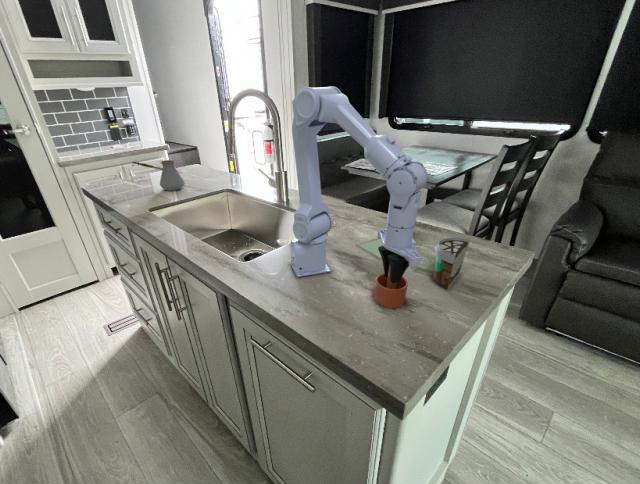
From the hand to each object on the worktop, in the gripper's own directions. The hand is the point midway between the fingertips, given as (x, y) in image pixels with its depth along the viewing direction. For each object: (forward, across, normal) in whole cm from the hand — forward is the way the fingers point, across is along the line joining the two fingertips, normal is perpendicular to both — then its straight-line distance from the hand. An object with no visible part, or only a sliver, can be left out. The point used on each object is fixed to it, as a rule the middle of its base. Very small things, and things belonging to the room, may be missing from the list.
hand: (392, 278), depth 74 cm
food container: (+6, +4, -18) cm, 19 cm away
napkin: (+6, +24, -11) cm, 27 cm away
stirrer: (+4, 0, 0) cm, 4 cm away
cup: (+6, 0, 0) cm, 6 cm away
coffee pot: (+6, +110, +59) cm, 125 cm away
